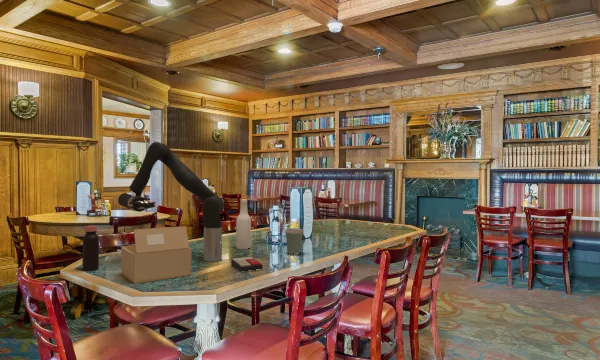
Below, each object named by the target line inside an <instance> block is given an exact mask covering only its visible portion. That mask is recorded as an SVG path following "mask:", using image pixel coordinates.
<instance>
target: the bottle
mask: <svg viewBox="0 0 600 360" xmlns="http://www.w3.org/2000/svg"><path fill="white" fill-rule="evenodd" d="M84 232H85V234H84V235H83V237H82V259H81V260H82V271H84V272H85V271H86V272H90V271H96V270H99V269H100V268H99V267H100V265H99V264H100V236H99V235H98V234H97V232H98V226H97V225H87V226H86V225H85V226H84Z"/></svg>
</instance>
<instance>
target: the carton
mask: <svg viewBox="0 0 600 360" xmlns="http://www.w3.org/2000/svg"><path fill="white" fill-rule="evenodd" d="M120 250H121V251H120V270H121V274H122V275H123V276H124V277H125V278H127V279H128V280H129V281H130V282H132V283H133V284H135V285H136V284H142V283H149V281H150V282H155V281H156V280H157V281H162V279H163V280H170V279H176V278H175V277H177V278H183V277H182V276H184V277H189V276H188V275H191V276H192V274H191V272H192V263H193V261H192V259H193V258H192V257H193V256H192V252H193V248H191V247H190V246H189V248H184V249H174V250H165V251H155V252H145V253H136V245H127V246H126V245H125V246H121V247H120ZM169 278H170V279H169Z"/></svg>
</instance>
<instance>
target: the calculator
mask: <svg viewBox="0 0 600 360" xmlns="http://www.w3.org/2000/svg"><path fill="white" fill-rule="evenodd" d="M230 261H231V262H230V266H231V265H232V266H233V267H232V266H231V267H232V268H234V267H235V268H236V269H238V270H239V271H248V270H256V269H262V270H263V267H264V266H263V264H262V263H261V262H260V261H258V260H257V259H255V258H254V257H252V256H249V257H238V258H237V257H235V258H231V259H230ZM235 268H234V269H235ZM236 269H235V270H236ZM238 270H237V271H238ZM239 271H238V272H239Z"/></svg>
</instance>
